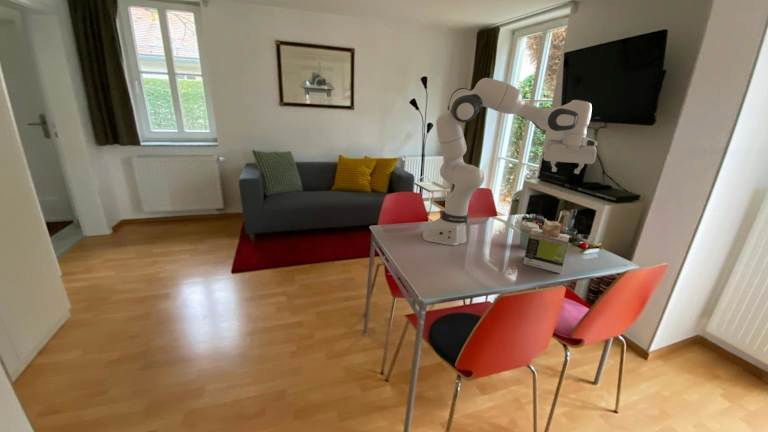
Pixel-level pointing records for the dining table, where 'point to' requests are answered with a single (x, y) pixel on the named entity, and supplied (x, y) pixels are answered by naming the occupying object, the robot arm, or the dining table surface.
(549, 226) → the oak block
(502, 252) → the dining table surface
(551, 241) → the tea box
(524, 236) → the coffee cup
